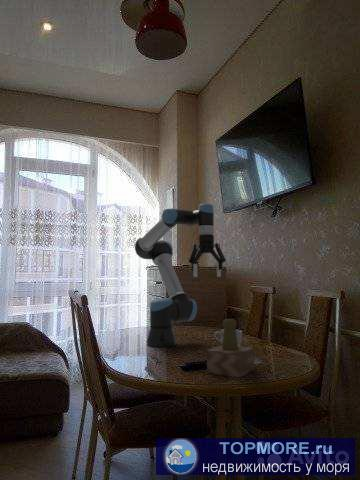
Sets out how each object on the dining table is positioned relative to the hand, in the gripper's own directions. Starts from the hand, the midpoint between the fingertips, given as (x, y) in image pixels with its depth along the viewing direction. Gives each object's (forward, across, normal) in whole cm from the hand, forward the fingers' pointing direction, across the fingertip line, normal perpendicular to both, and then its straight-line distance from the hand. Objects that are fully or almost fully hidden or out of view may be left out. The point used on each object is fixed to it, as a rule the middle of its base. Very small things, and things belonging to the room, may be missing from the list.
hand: (207, 276), depth 183 cm
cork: (+27, +29, -33) cm, 51 cm away
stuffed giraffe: (+35, +23, -16) cm, 45 cm away
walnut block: (+35, +29, -33) cm, 56 cm away
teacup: (+35, +7, +8) cm, 37 cm away
